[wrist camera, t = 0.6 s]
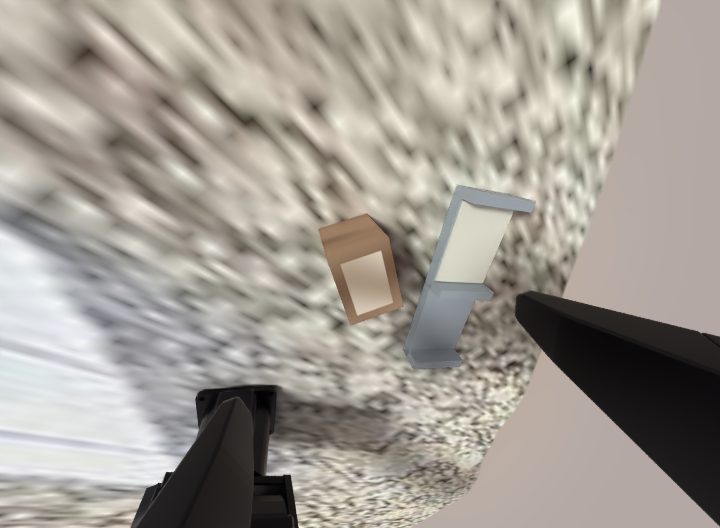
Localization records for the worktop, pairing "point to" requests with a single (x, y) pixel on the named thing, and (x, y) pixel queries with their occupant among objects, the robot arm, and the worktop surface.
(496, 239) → the bracket
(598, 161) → the worktop surface
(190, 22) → the worktop surface
